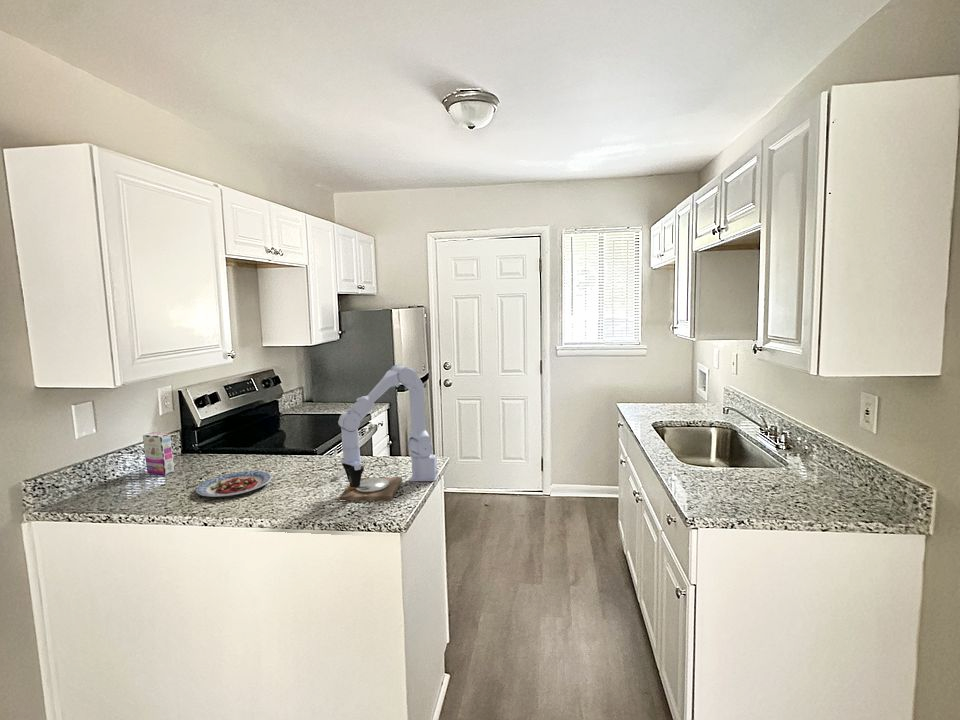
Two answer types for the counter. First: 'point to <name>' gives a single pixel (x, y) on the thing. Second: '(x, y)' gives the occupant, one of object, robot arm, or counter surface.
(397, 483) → the dial board
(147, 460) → the candy bar box
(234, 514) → the counter surface
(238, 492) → the ceramic plate
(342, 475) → the adjustable wrench
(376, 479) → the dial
